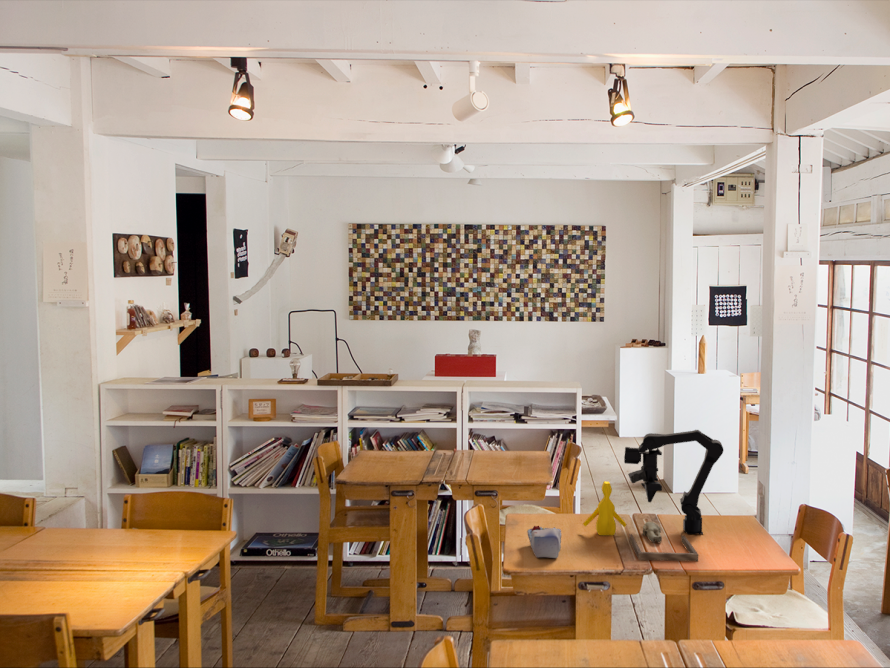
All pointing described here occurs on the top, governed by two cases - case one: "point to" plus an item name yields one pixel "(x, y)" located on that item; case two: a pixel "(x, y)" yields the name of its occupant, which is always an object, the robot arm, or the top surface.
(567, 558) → the top surface
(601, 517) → the figure statuette
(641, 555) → the holder
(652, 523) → the sculpture
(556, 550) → the grey tapered container
